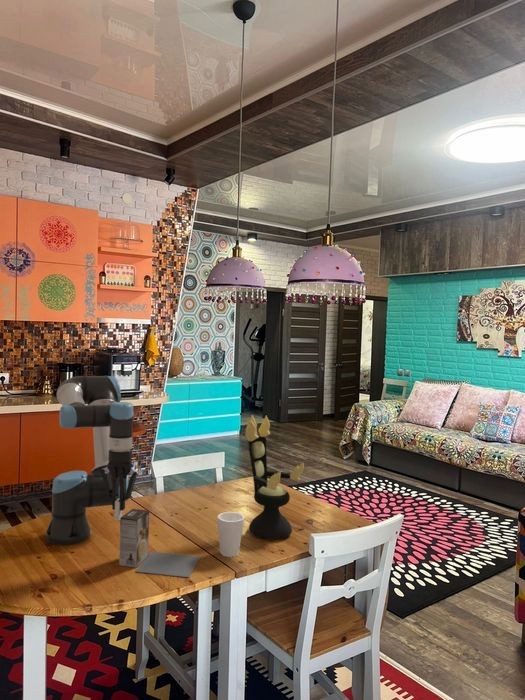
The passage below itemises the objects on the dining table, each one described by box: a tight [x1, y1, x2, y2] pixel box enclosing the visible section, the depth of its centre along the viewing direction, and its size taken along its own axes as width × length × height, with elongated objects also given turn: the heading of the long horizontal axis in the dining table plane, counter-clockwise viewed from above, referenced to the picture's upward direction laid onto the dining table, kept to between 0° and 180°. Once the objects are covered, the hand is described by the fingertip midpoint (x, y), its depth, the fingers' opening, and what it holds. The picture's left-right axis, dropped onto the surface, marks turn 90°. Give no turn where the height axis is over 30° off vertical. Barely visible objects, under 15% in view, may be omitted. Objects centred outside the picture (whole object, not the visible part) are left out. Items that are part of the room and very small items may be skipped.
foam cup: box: [216, 511, 246, 558], centre depth 182 cm, size 10×9×13 cm
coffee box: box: [118, 508, 150, 569], centre depth 173 cm, size 9×6×16 cm
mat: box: [135, 551, 201, 578], centre depth 172 cm, size 18×15×1 cm
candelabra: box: [244, 414, 305, 541], centre depth 202 cm, size 19×22×45 cm
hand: (118, 519), depth 173 cm, fingers closed
